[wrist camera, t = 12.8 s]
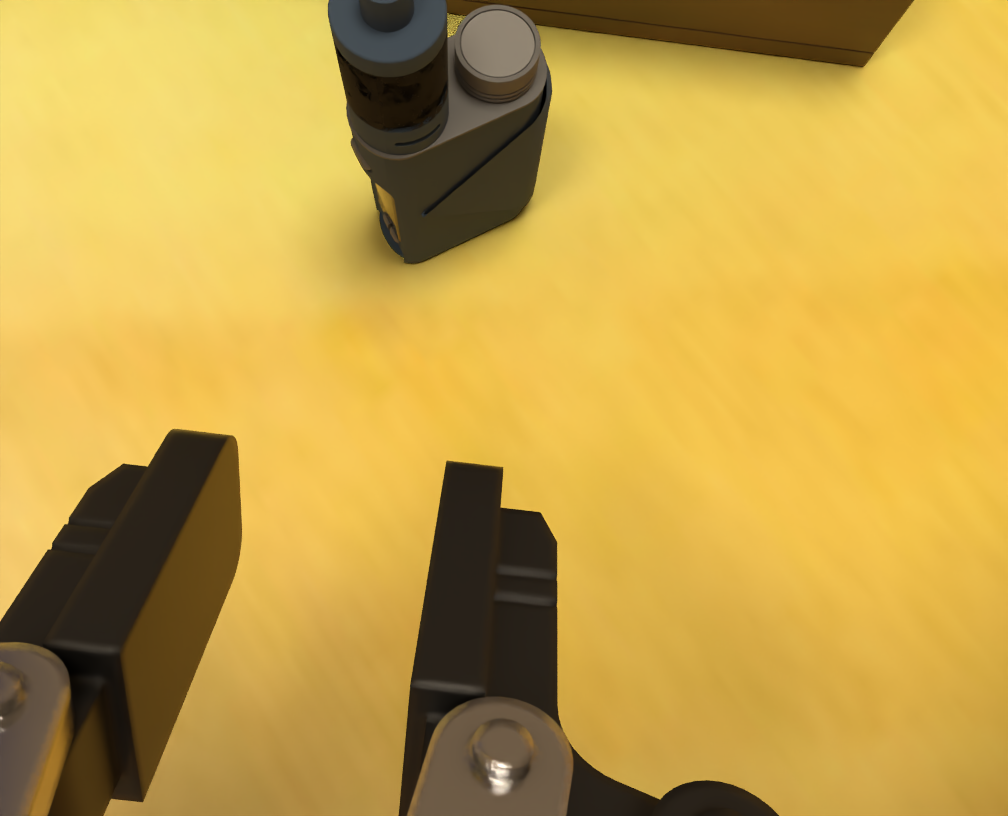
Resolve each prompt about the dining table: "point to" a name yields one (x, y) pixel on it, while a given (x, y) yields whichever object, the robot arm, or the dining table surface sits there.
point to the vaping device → (442, 116)
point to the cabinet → (727, 23)
